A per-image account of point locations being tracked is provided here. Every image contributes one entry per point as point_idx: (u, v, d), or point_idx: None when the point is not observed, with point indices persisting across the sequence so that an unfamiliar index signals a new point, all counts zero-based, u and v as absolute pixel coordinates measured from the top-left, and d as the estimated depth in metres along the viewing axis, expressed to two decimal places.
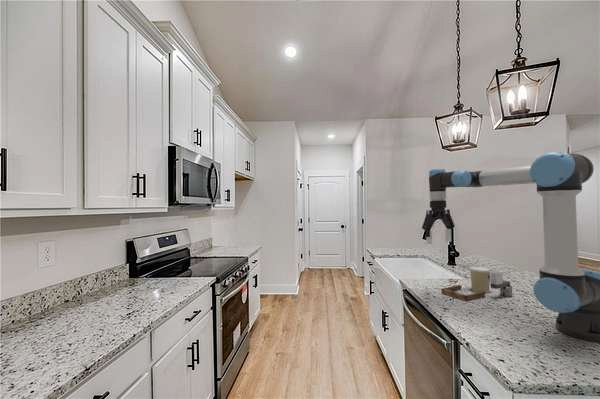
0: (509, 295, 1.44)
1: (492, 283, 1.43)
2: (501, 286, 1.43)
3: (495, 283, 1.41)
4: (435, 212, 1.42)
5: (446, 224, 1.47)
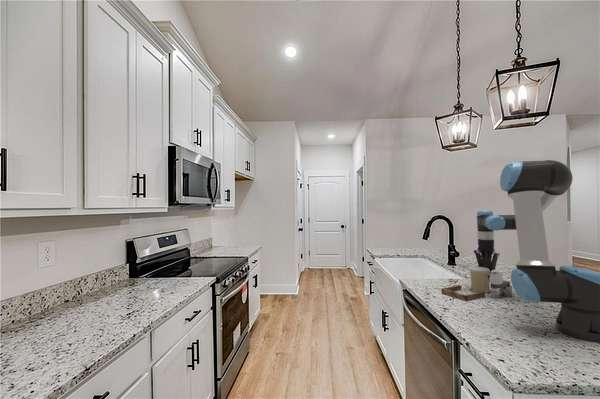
0: (509, 295, 1.44)
1: (492, 283, 1.43)
2: (501, 286, 1.43)
3: (495, 283, 1.41)
4: (479, 249, 1.60)
5: None
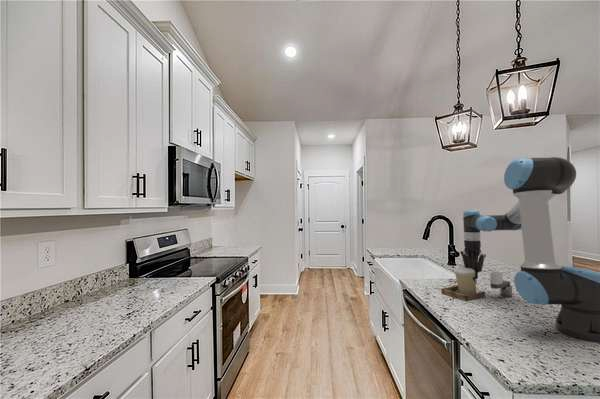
0: (509, 295, 1.44)
1: (492, 283, 1.43)
2: (501, 286, 1.43)
3: (495, 283, 1.41)
4: (466, 250, 1.55)
5: None
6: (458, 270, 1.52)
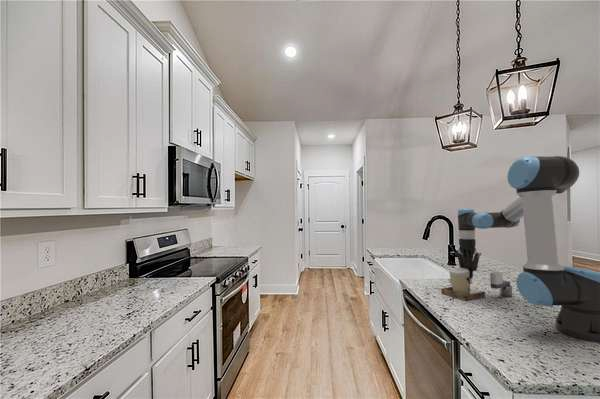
0: (509, 295, 1.44)
1: (492, 283, 1.43)
2: (501, 286, 1.43)
3: (495, 283, 1.41)
4: (460, 249, 1.53)
5: None
6: (452, 270, 1.50)
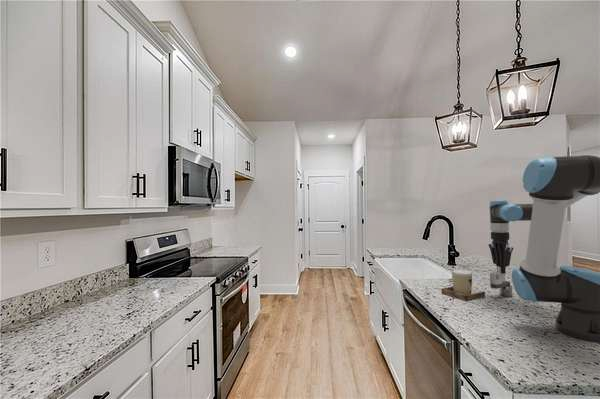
0: (509, 295, 1.44)
1: (492, 283, 1.43)
2: (501, 286, 1.43)
3: (495, 283, 1.42)
4: (493, 243, 1.44)
5: None
6: (455, 271, 1.51)
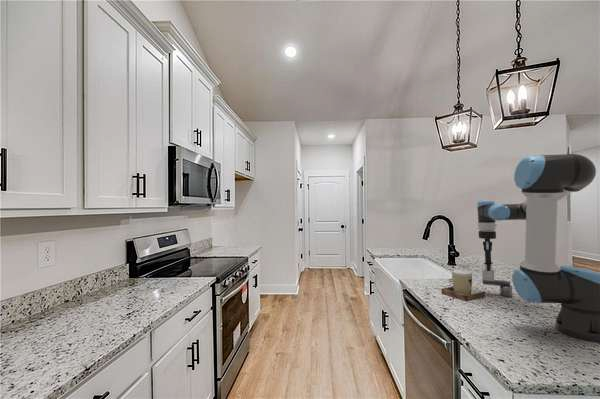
0: (509, 295, 1.44)
1: (482, 278, 1.51)
2: (492, 283, 1.48)
3: (482, 278, 1.50)
4: None
5: None
6: (455, 271, 1.51)
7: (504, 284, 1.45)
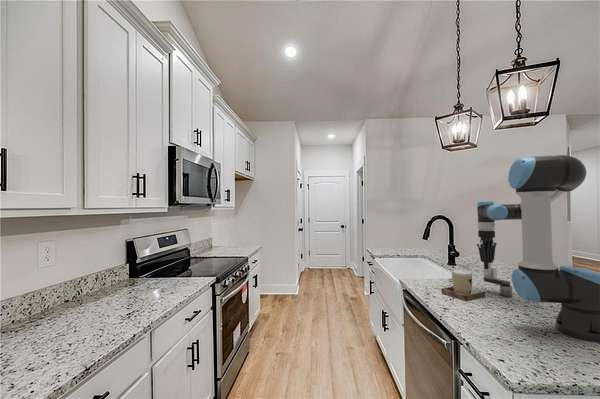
0: (509, 295, 1.44)
1: None
2: (491, 281, 1.51)
3: None
4: None
5: None
6: (455, 271, 1.51)
7: (502, 283, 1.46)
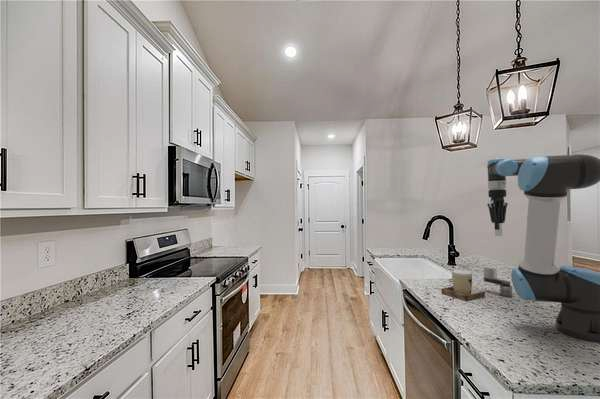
0: (509, 295, 1.44)
1: None
2: (491, 281, 1.51)
3: None
4: None
5: None
6: (455, 271, 1.51)
7: (502, 283, 1.46)
